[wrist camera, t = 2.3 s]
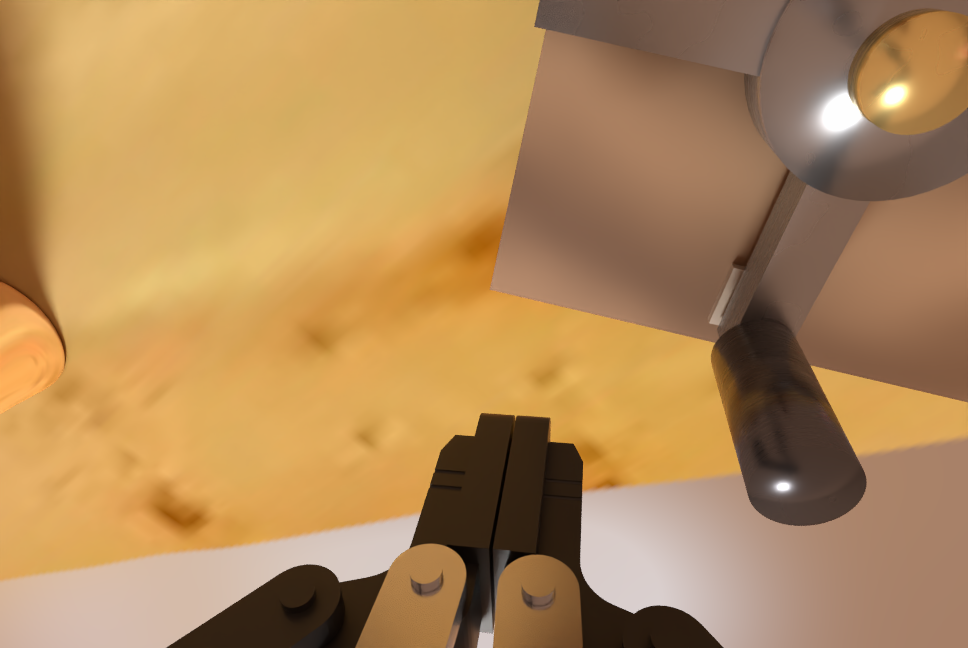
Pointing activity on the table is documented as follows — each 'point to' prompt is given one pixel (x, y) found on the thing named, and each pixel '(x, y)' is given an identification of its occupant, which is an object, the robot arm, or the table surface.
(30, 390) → the beer glass
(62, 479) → the table surface
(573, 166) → the stand
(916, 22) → the capstan
